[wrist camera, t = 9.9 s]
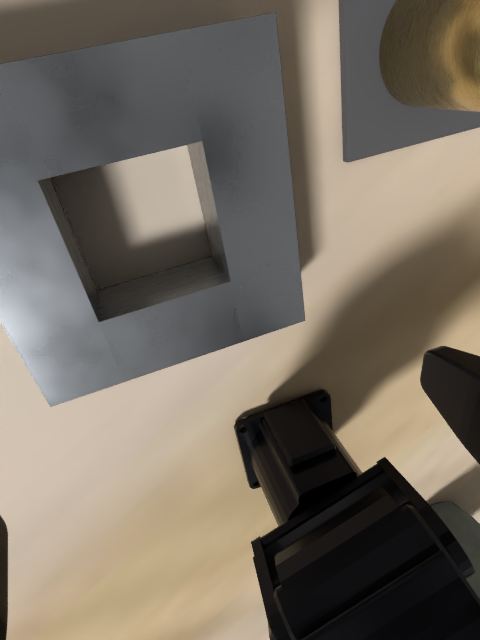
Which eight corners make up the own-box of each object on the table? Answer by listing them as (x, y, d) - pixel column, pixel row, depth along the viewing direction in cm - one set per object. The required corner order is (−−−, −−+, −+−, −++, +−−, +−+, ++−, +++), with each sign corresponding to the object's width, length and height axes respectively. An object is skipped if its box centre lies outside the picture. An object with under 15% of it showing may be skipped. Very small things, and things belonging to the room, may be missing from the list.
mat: (482, 123, 21) (488, 124, 21) (343, 161, 20) (347, 162, 19) (512, -90, 17) (521, -93, 16) (337, -62, 15) (342, -65, 15)
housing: (280, 293, 22) (305, 320, 20) (54, 366, 20) (50, 407, 18) (245, 23, 16) (275, 12, 13) (-97, 87, 13) (-137, 89, 11)
